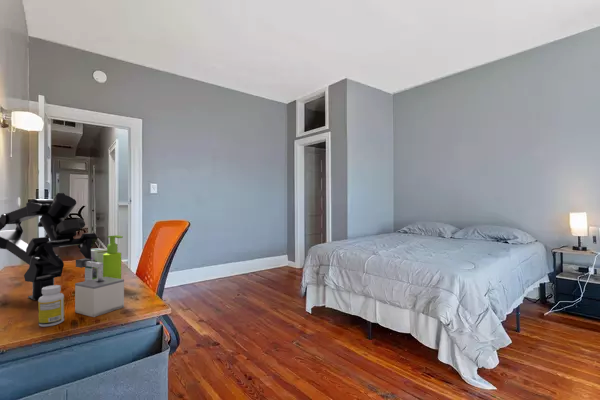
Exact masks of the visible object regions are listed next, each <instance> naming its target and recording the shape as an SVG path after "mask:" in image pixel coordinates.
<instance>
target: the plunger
mask: <svg viewBox="0 0 600 400" xmlns="http://www.w3.org/2000/svg"><path fill="white" fill-rule="evenodd" d="M88 266H90V267H97V268H98V283H100V282H103V263H100V262H92V261H91V259H86V258H85V257H84V258H80V259H75V268H81V269H82V268H85V267H88Z"/></svg>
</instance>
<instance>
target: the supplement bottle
mask: <svg viewBox="0 0 600 400" xmlns="http://www.w3.org/2000/svg"><path fill="white" fill-rule="evenodd" d="M61 288H62V285H59V284H54V285H52V286H47V287H43V288H42V294H43V296H41V297H40V298H39V300H37V302H38V304H37V305H38V326H39V327H43V328H45V327H53V326H56V325H59V324H61V323H63V322H64V321H65V294H64V293H62V292H61V290H62V289H61Z"/></svg>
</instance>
